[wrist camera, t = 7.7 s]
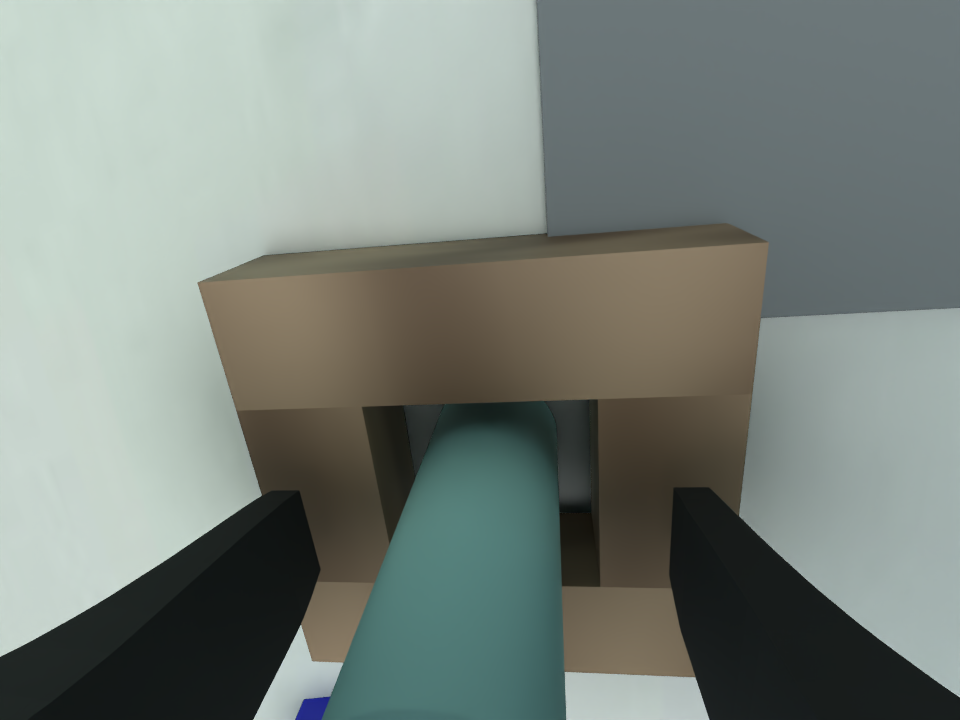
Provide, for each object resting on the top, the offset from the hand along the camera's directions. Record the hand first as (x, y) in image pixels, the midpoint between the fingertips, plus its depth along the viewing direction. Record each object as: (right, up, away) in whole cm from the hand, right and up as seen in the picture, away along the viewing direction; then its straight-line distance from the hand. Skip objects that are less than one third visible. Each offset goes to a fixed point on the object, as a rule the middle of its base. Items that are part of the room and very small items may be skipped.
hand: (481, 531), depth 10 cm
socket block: (0, +1, +3) cm, 3 cm away
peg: (0, +1, +3) cm, 3 cm away
